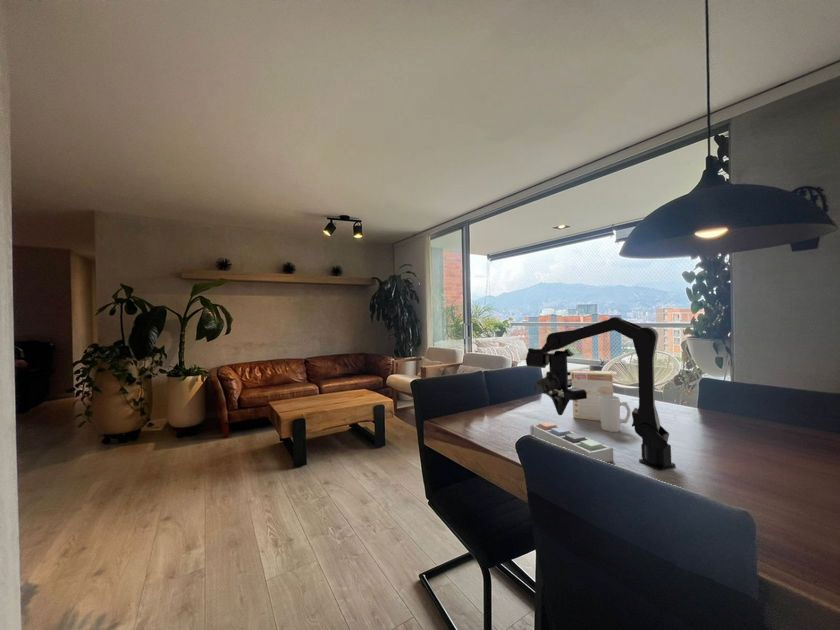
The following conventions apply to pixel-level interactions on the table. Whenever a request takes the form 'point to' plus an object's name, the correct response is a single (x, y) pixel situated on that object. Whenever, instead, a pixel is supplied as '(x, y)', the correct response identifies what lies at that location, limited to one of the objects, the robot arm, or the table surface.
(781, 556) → the table surface
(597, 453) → the keypad
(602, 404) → the mug
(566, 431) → the key blue
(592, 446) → the key sage
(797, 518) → the table surface
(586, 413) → the coffeecake box
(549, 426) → the key terracotta
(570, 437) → the key charcoal
